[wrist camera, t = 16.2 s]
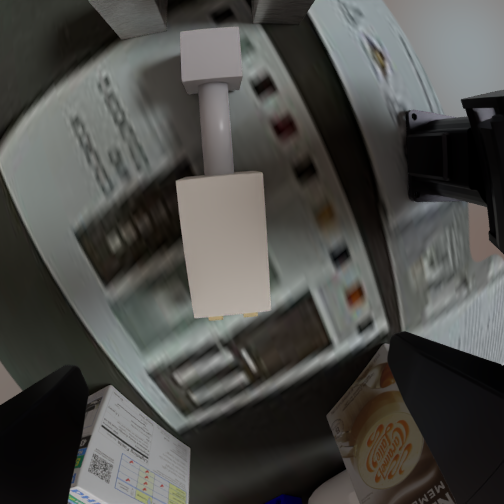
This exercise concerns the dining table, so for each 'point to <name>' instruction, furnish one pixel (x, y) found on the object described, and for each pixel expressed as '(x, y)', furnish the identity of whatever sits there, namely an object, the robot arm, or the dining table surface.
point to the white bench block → (155, 14)
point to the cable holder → (285, 500)
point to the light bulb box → (127, 457)
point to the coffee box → (384, 442)
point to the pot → (335, 491)
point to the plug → (221, 190)
